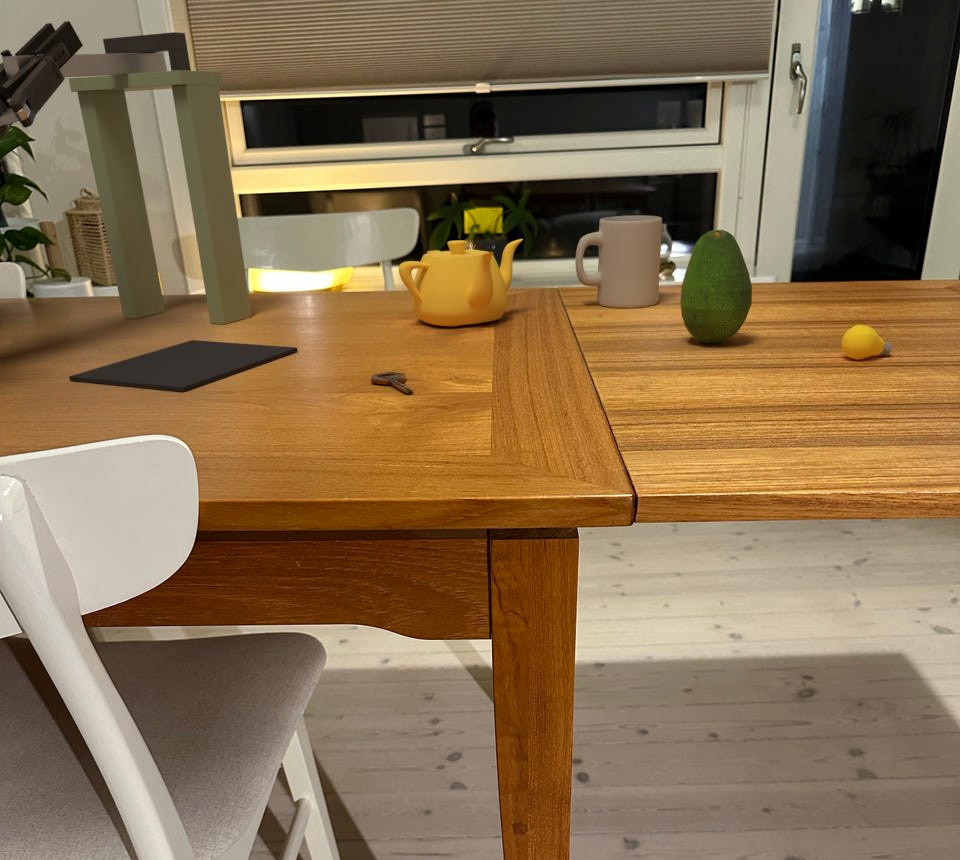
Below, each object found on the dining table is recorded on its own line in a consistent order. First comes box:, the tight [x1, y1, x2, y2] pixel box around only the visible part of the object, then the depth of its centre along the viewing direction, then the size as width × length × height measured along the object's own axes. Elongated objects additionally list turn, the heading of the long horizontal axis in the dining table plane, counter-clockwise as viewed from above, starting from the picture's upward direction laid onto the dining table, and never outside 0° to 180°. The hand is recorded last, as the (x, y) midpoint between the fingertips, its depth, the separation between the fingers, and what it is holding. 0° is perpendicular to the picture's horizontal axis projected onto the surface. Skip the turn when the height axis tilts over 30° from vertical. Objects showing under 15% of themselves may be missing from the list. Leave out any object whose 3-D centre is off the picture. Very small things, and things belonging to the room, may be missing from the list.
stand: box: [68, 31, 252, 325], centre depth 129 cm, size 18×8×34 cm, turn 64°
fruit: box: [679, 229, 753, 344], centre depth 107 cm, size 8×8×12 cm
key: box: [370, 371, 414, 394], centre depth 96 cm, size 4×8×1 cm, turn 26°
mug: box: [574, 215, 663, 309], centre depth 132 cm, size 12×8×11 cm
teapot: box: [398, 238, 524, 328], centre depth 125 cm, size 14×13×10 cm
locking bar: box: [1, 52, 168, 80], centre depth 115 cm, size 2×24×2 cm, turn 154°
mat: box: [68, 339, 299, 393], centre depth 108 cm, size 16×20×1 cm
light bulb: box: [840, 324, 893, 361], centre depth 100 cm, size 3×6×4 cm, turn 108°
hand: (64, 34), depth 111 cm, fingers closed on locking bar, 2 cm apart
